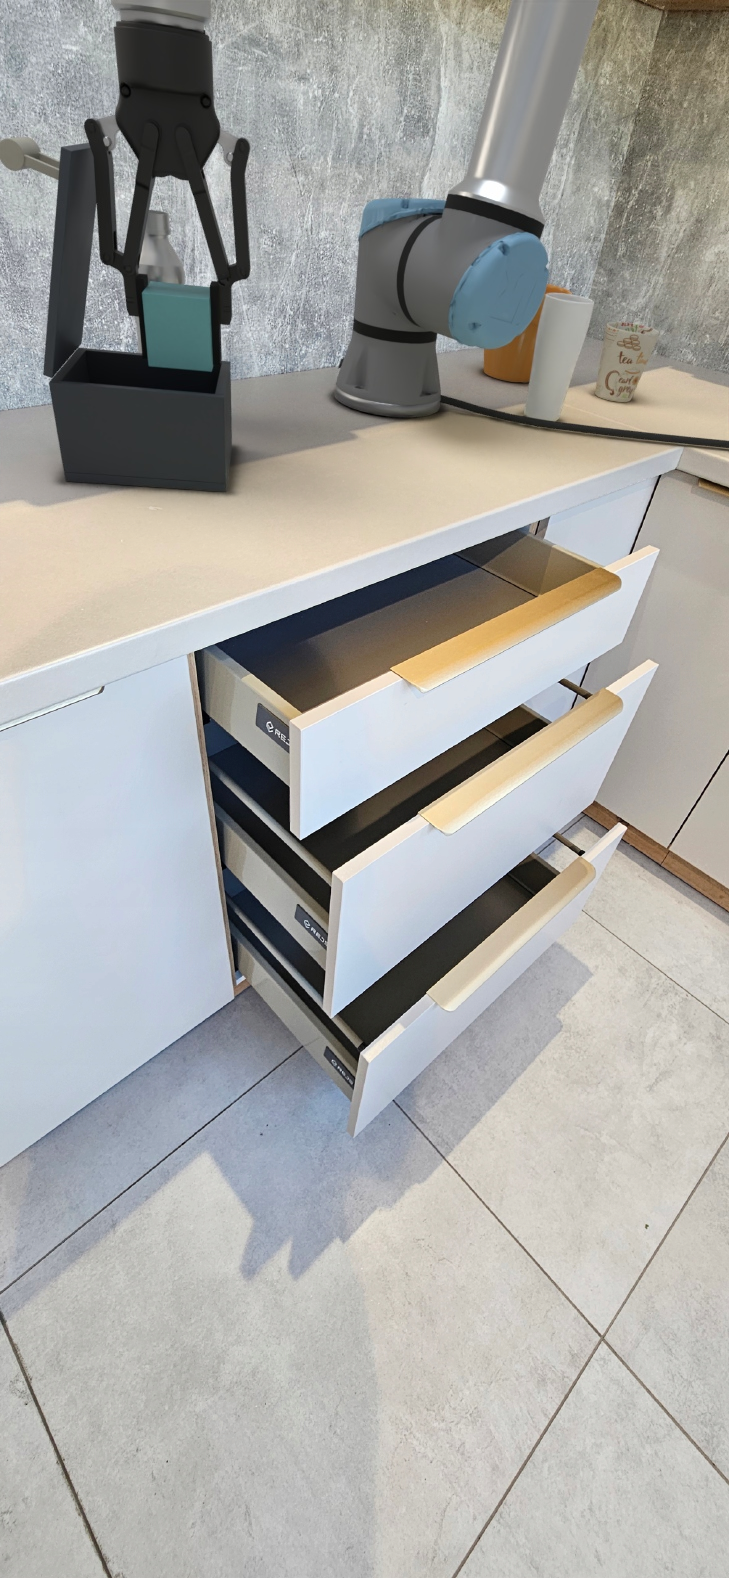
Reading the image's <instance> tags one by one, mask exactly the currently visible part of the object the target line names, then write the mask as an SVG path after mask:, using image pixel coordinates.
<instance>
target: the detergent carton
mask: <svg viewBox="0 0 729 1578" xmlns="http://www.w3.org/2000/svg"><path fill="white" fill-rule="evenodd" d="M142 300H143V311H144V322H145V333H146V344H147V355H148V366H149V367H161V368H173V369H184V370H196V371H208V372H212V369H213V356H212V330H211V303H210V286H201V285H192V284H184V285H183V284H173V283H163V282H153V281H150V283H149V284H148V285H147V287H146V288H145V290H144V291H143V292H142Z"/></svg>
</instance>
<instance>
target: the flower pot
mask: <svg viewBox="0 0 729 1578" xmlns="http://www.w3.org/2000/svg"><path fill="white" fill-rule="evenodd" d="M547 293H564V294H571V295H573V293H572V292H571V291H570V290H568V289H567V288H564V287H561V286H559V285H554V284H550V283H547V287H546V291H545V295H544V297H543V300H542V303H541V305H540V307H539V309H538V311H537V313H536V315H535V316H534V318H533V320H532V321H531V322H530V324H529V325H528V326H527V328H526V329H525V330H524V331H523V332H522V333H521V334H520V335H519V336H516V337H515V338H514V339H513V340H512V341H511V342H510V343H509V344H507V345H505V346H502V347H500V348H496V349H483V372H484V374H486V375H487V376H488V377H492V378H493V379H497V380H501V381H505V382H510V383H529V381H530V375H531V368H532V361H533V355H534V348H535V341H536V335H537V329H538V324H539V319H540V315H541V311H542V307H543V303H544V300H545V296H546V294H547Z"/></svg>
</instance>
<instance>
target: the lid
mask: <svg viewBox="0 0 729 1578" xmlns="http://www.w3.org/2000/svg"><path fill="white" fill-rule="evenodd" d="M0 162H1V163H2V165H3V166H4V167H5V168H6V169H8V170H10V171H12V172H18V171H22V170H23V171H24V170H27V169H31V170H34V171H36V172H39V173H41V174H43V175H45V176H48V177H50V178H52V179H54V180H57V190H56V191H57V194H56V205H55V217H54V231H53V243H52V254H51V266H50V268H51V269H50V281H49V295H48V307H47V321H46V331H45V345H44V346H45V347H44V359H43V371H42V375H43V376H45V377H47V378H50V379H52V378H53V377H54V376H55V375H56V373H57V372H58V371H59V370H60V369H61V368H62V366H63V365H64V364H65V363H66V362H67V360H68V359H69V358H70V357H71V356H72V355H73V353H74V352H75V351H76V350H77V349H78V348H80V346H81V345H82V344H83V334H84V325H85V315H86V307H87V306H86V305H87V297H88V296H87V295H88V288H89V278H90V269H91V259H92V258H91V257H92V248H93V240H94V229H95V221H96V220H95V219H96V213H97V204H96V188H95V172H94V157H93V154H92V151H91V148H90V145H89V142H83V143H78V144H69V145H63V146H60V151H59V159H57V158H55V157H52V156H50V155H48V154H45V153H43V152H42V150H41V148H40V146H39V144H38V143H37V142H36V141H35V140H34V139H33V138H31V137H29V136H17V137H6V138H3V139H1V140H0Z"/></svg>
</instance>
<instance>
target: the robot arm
mask: <svg viewBox="0 0 729 1578" xmlns="http://www.w3.org/2000/svg"><path fill="white" fill-rule="evenodd" d="M600 1H601V0H511V1H510V5H509V9H508V13H507V17H506V19H505V20H506V21H505V25H504V27H503V32H502V36H501V40H500V43H499V47H498V51H497V56H496V58H495V63H494V66H493V70H492V74H491V79H490V83H489V86H488V89H487V94H486V98H485V101H484V105H483V109H482V112H481V117H480V121H479V124H478V129H477V131H476V136H475V140H474V144H473V148H472V152H471V155H470V159H469V163H468V167H467V171H466V175H465V176H464V178H463V179H462V180H461V181H460V182H458V183H457V184H456V185H454V186H453V187H452V188H451V189H449V190H448V192H447V196H446V200H445V199H435V198H403V197H397V198H396V197H393V198H392V197H391V198H389V197H388V198H376V199H372V200H370V201H369V202H368V203H366V205H365V207H364V208H363V211H362V217H361V222H360V228H359V234H358V236H357V237H358V238H357V241H358V249H357V263H356V264H357V265H356V278H355V279H356V281H355V292H354V293H355V294H354V296H355V297H354V307H353V320H352V321H353V324H352V333H351V339H350V340H349V343H348V346H347V349H346V352H345V355H344V357H343V358H341V359H340V361H339V364H338V367H337V369H338V370H339V371H338V374H337V376H336V380H335V384H334V385H335V386H334V387H335V388H334V397H335V399H336V400H337V401H338V402H339V403H340V404H342V405H344V406H346V407H349V408H351V409H354V410H357V411H360V412H363V413H367V414H372V415H378V416H385V417H393V418H420V417H427V416H431V415H433V414H435V413H437V412H438V411H439V410H440V407H441V404H443V405H447V406H451V407H454V408H459V409H462V410H465V411H468V412H470V413H474V414H478V415H481V416H485V417H490V418H493V419H497V420H501V421H506V422H511V423H516V424H520V425H526V426H531V427H537V428H544V429H550V430H557V431H558V430H559V431H564V432H565V431H566V432H567V431H568V432H575V433H584V434H590V435H599V436H607V437H614V438H615V437H616V438H623V439H624V438H625V439H633V440H634V439H635V440H643V441H653V442H663V443H672V444H682V445H689V446H690V445H691V446H700V447H710V448H722V449H729V440H727V439H716V438H715V439H714V438H707V437H706V438H705V437H695V436H685V435H675V434H666V433H658V432H657V433H656V432H646V431H638V430H630V429H629V430H628V429H621V428H611V427H603V426H595V425H587V424H580V423H571V422H563V421H557V420H556V421H549V420H542V419H536V418H530V417H527V416H526V415H525V416H524V415H520V414H515V413H511V412H504V411H500V410H497V409H492V408H488V407H485V406H480V405H477V404H474V403H471V402H468V401H464V400H461V399H457V398H454V397H451V396H447V395H443V394H442V387H441V379H440V372H439V364H438V355H437V340H438V339H437V338H438V335H441V336H444V337H446V338H449V339H451V340H453V341H456V342H457V343H458V344H460V345H462V346H463V345H465V346H467V347H475V348H479V349H482V350H484V349H496V348H500V347H502V346H505V345H507V344H509V343H510V342H511V341H512V340H513V339H514V338H515V337H516V336H519V335H520V334H521V333H522V332H523V331H524V330H525V329H526V328H527V326H528V325H529V324H530V322H531V321H532V320H533V318H534V316H535V315H536V313H537V311H538V309H539V307H540V305H541V303H542V300H543V297H544V295H545V291H546V287H547V284H549V283H548V282H549V277H550V276H549V275H550V270H549V268H548V267H547V265H548V264H549V255H548V252H547V249H546V247H545V245H544V244H543V243H542V241H541V238H542V235H543V231H544V229H545V226H546V225H545V224H546V219H545V217H544V214H543V211H542V208H541V205H540V196H541V194H542V189H543V186H544V184H545V180H546V177H547V174H548V171H549V167H550V163H551V161H552V157H553V154H554V151H555V148H556V145H557V141H558V138H559V134H560V131H561V128H562V125H563V121H564V118H565V115H566V111H567V109H568V105H569V102H570V99H571V95H572V92H573V89H574V85H575V82H576V80H577V75H578V74H579V73H578V72H579V69H580V66H581V62H582V59H583V57H584V53H585V50H586V47H587V43H588V40H589V37H590V35H591V34H590V33H591V30H592V27H593V24H594V22H595V21H594V20H595V17H596V14H597V10H598V7H599V4H600ZM110 4H111V6H112V8H113V9H114V10H115V11H117V12H119V15H120V16H119V17H120V20H117V21H115V26H113V34H114V35H113V36H114V47H115V58H116V69H117V70H116V71H117V79H118V92H119V94H118V100H117V104H116V107H115V111H114V114H111V115H108V116H103V117H100V118H96V117H91V118H90V117H89V118H86V119H85V121H84V123H83V124H84V125H83V129H84V133H85V135H86V138H87V141H88V142H87V143H89V145H90V148H91V151H92V154H93V157H94V172H95V188H96V216H97V217H96V218H97V219H96V220H97V232H98V234H97V235H98V250H99V251H98V252H99V259H100V261H101V263H102V264H104V265H105V266H109V267H111V268H113V269H115V270H117V271H118V272H119V273H120V274H121V276H122V279H123V288H124V289H123V290H124V299H125V307H126V311H127V314H128V316H130V317H135V316H137V317H139V325H140V336H141V347H142V357H143V359H148V355H147V344H146V333H145V322H144V311H143V300H142V292H143V291H144V290H145V288H146V287H147V285H148V275H147V274H139V272H138V269H139V267H140V266H139V263H140V257H141V252H142V246H143V241H144V235H145V230H146V224H147V219H148V213H149V210H150V207H151V201H152V198H153V197H152V196H153V192H154V187H155V183H156V178H166V177H170V176H171V177H173V178H175V179H177V180H179V181H186V182H188V184H189V187H190V191H191V194H192V195H193V199H194V204H195V207H196V210H197V214H198V217H199V220H200V223H201V228H202V231H203V234H204V237H205V242H206V244H207V245H206V246H207V248H208V252H209V255H210V259H211V262H212V265H213V269H214V273H215V275H216V280H211V281H210V283H209V287H210V303H211V330H212V356H213V365H220V364H221V361H223V355H222V353H223V351H222V326H230V325H231V322H232V319H233V291H232V288H233V285H234V284H235V283H236V282H239V281H243V280H247V279H248V278H249V277H250V276H251V275H250V274H251V269H252V267H251V253H250V252H251V249H250V234H249V233H250V232H249V218H248V217H249V216H248V215H249V214H248V199H247V183H246V170H247V166H248V162H249V157H250V153H251V143H250V141H249V139H248V138H246V137H243V136H242V137H239V136H237V135H235V134H234V133H231V132H229V131H227V130H226V129H224V128H222V127H221V123H220V120H219V118H218V116H217V113H216V112H217V111H216V109H215V99H214V98H215V94H214V93H215V92H214V91H215V90H214V66H213V65H214V64H213V63H214V59H213V58H214V57H213V41H212V40H210V36H209V34H206V30H205V26H207V25H209V24H210V23H211V22H212V0H110ZM119 132H121V134H122V136H123V138H124V139H125V141H126V143H127V144H128V146H129V147H130V149H131V151H132V152H133V155H134V156H135V157H136V159H137V160H138V161H137V168H136V173H135V181H134V189H133V196H132V200H131V201H132V202H131V208H130V213H129V218H128V219H129V220H128V225H127V230H126V237H125V243H124V248H123V252H122V251H120V250H118V249H119V248H118V247H119V246H118V227H117V210H116V209H117V208H116V207H117V206H116V187H115V169H114V167H115V166H114V157H113V152H112V151H114V150H116V148H117V145H118V139H117V135H118V133H119ZM217 145H219V146H220V147H221V149H222V152H223V161H224V163H225V164H226V165H227V166H229V167H230V175H229V176H230V180H229V181H230V191H231V210H232V222H233V235H234V236H233V237H234V238H233V239H234V251H235V263H231V264H230V263H229V259H228V256H227V252H226V248H225V245H224V241H223V238H222V234H221V231H220V227H219V223H218V219H217V216H216V212H215V209H214V204H213V201H212V198H211V195H210V194H211V193H210V189H209V184H208V182H207V181H208V180H207V178H206V173H205V171H204V167H205V165H206V164H207V162H208V160H209V158H210V157H211V155H212V153H213V152H214V150H215V148H216V146H217Z"/></svg>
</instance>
